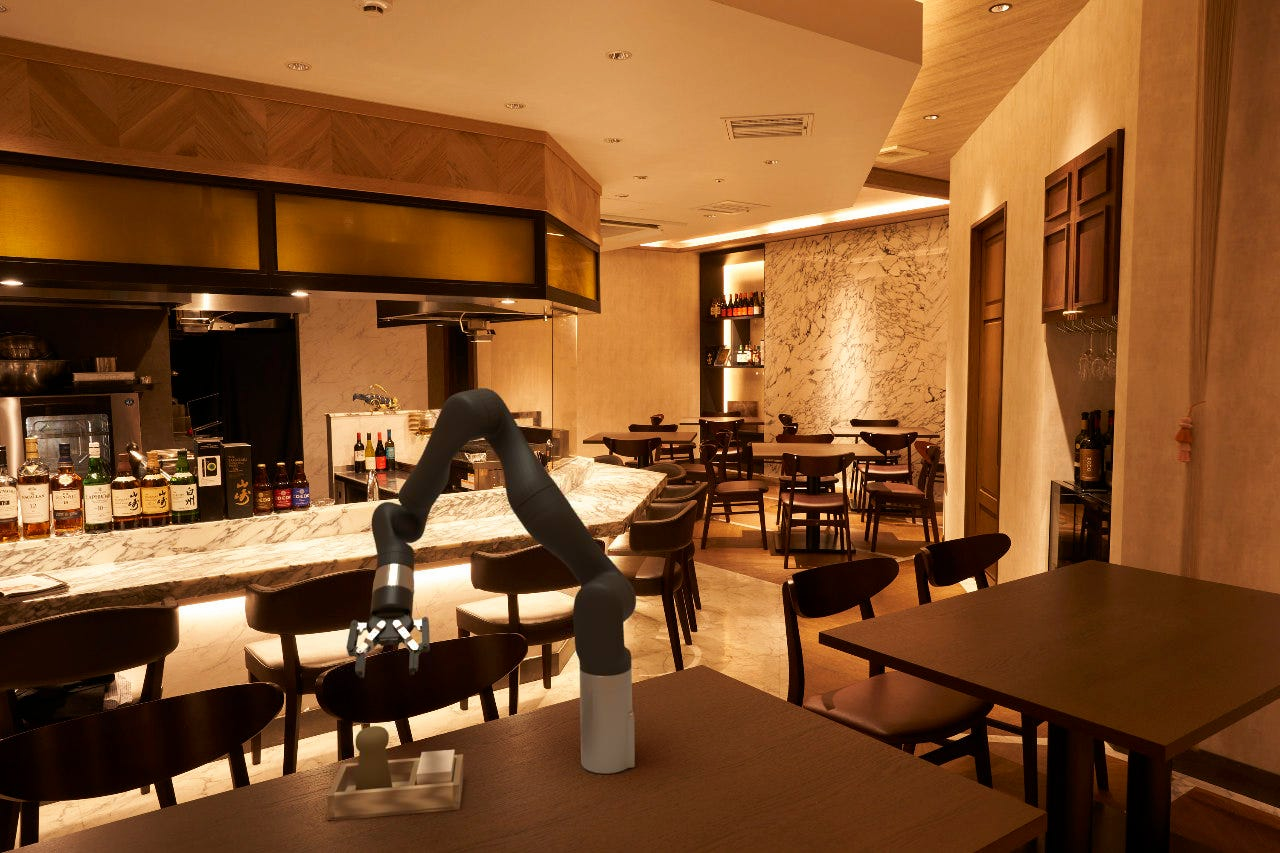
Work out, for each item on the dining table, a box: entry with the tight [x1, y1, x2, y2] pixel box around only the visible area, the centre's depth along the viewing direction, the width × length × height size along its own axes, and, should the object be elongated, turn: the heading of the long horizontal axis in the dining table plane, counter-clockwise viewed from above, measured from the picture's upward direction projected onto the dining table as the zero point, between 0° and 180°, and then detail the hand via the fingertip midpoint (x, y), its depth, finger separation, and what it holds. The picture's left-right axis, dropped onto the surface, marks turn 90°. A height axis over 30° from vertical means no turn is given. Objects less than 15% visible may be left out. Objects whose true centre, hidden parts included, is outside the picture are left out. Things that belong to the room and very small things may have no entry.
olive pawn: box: [355, 725, 392, 791], centre depth 134 cm, size 6×6×11 cm
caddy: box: [327, 749, 464, 821], centre depth 134 cm, size 20×11×6 cm, turn 99°
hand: (386, 674), depth 145 cm, fingers open, 8 cm apart
